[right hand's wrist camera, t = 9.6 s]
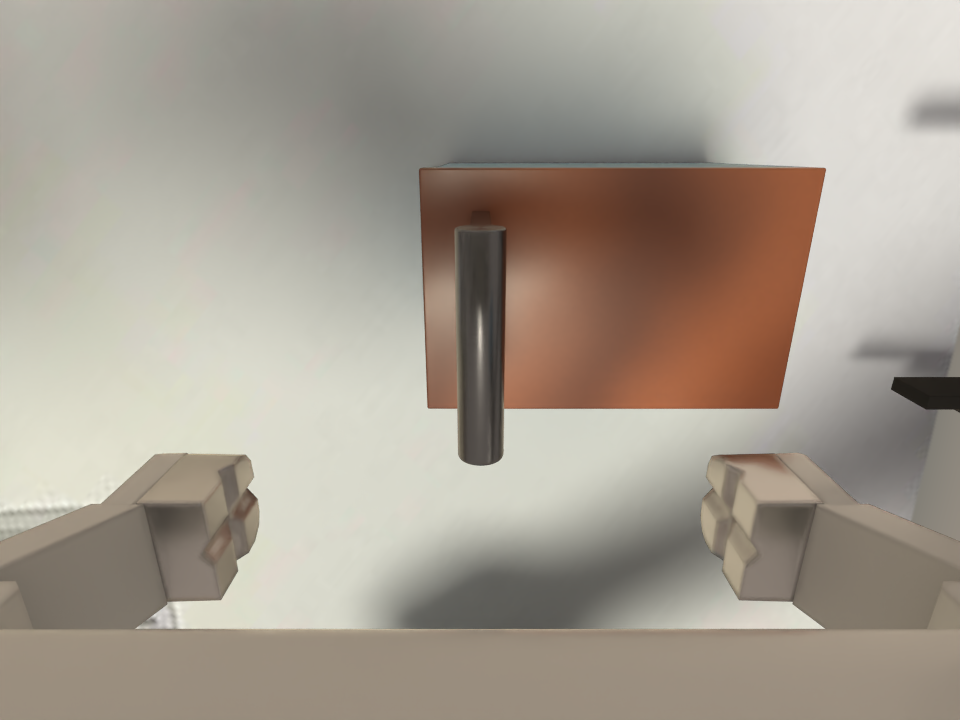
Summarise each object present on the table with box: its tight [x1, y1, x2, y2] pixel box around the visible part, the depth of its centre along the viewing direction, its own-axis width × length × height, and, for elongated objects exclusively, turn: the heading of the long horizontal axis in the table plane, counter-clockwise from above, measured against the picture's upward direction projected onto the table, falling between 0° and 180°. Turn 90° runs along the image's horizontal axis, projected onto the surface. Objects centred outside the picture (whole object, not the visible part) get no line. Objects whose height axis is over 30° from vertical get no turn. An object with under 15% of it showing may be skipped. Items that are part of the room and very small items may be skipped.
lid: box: [419, 167, 826, 466], centre depth 20 cm, size 15×10×8 cm, turn 90°
